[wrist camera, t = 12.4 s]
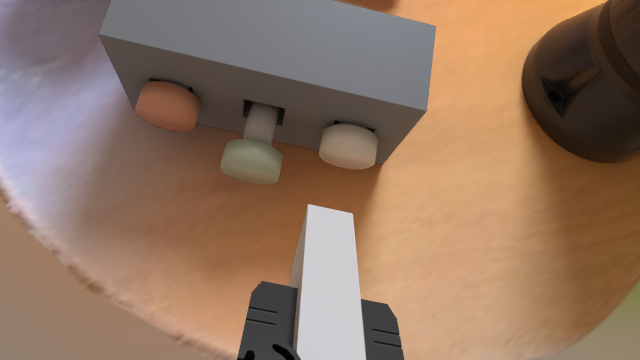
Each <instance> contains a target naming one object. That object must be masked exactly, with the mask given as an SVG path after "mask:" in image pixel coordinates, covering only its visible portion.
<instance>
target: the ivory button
mask: <svg viewBox="0 0 640 360" xmlns="http://www.w3.org/2000/svg"><path fill="white" fill-rule="evenodd" d="M377 145H378V138H377V136H376V135H375V134H374V133H373V132H371V131H369V130H367V129H366V127H364V126H359V125H355V124H350V123H346V122H342V121H339V123H338V124H337V125H331V126H329V127H327V128H325V129H324V130H323V133H322V139H321V144H320V149H319V156H320V158H321V159H322V160H323V161H325V162H327V163H329V164H331V165H334V166H337V167H341V168H346V169H365V168H369V167H371V166H373V165H374V164H375V159H376V152H377Z"/></svg>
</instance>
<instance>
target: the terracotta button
mask: <svg viewBox="0 0 640 360" xmlns="http://www.w3.org/2000/svg"><path fill="white" fill-rule="evenodd" d="M190 88H191V87H189V86H184V85H180V84H175V83H171V82H167V81H162V80H161V82H160V81H151V82H147V83H145V84H144V85H143V87H142V90H141V93H140V96H139V99H138V102H137V105H136V108H135V111H136V113H137V114H138V115H139V116H140V117H141V118H142V119H144V120H145V121H147V122H149V123H151V124H153V125H155V126H158V127H161V128H164V129H168V130H172V131H190V130H192V129H194V127H195V124H196V120H197V117H198V113H199V110H200V106H201V103H200V100H199V99H198V98H197V97H196V96H195V95H194V94H193V93H191V92H190Z"/></svg>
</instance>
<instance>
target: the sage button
mask: <svg viewBox="0 0 640 360" xmlns="http://www.w3.org/2000/svg"><path fill="white" fill-rule="evenodd" d="M278 112H279V107H276V106H272V105H267V104H263V103H259V102H254V101H252V102H251V106H250V110H249V115H248V119H247V123H246V127H245V131H244V135H243V139H234V140H230V141H228V142H227V143H226V145H225V149H224V153H223V157H222V160H221V164H220V169H221V171H222V172H223V173H225V174H226V175H228V176H230V177H232V178H234V179H237V180H240V181H243V182H247V183H252V184H259V185H270V184H275V183H277V182H278V180H279V175H280V171H281V166H282V161H283V155H282V153H281V152H280V151H279V150H277V149H276V148H274V147H272V146H271V143H272V139H273V134H274V130H275V126H276V121H277V117H278Z"/></svg>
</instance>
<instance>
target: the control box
mask: <svg viewBox="0 0 640 360" xmlns="http://www.w3.org/2000/svg"><path fill="white" fill-rule="evenodd" d="M435 31H436V26H434V25H430V24H426V23H422V22H418V21H414V20H410V19H406V18H402V17H398V16H394V15H390V14H386V13H382V12H378V11H374V10H370V9H366V8H362V7H358V6H354V5H350V4H346V3H342V2H338V1H334V0H111V2H110V5H109V7H108V10H107V13H106V15H105V18H104V20H103V23H102V25H101V28H100V31H99V33H98V34H99V37H100V39H101V41H102V43H103V45H104V47H105V49H106V51H107V54H108V56H109V58H110V60H111V62H112V64H113V66H114V69H115V71H116V73H117V75H118V77H119V79H120V81H121V83H122V86H123V88H124V90H125V92H126V94H127V96H128V98H129V101H130V103H131V105H132V107H133V109H134V110H135V108H136V105H137V102H138V99H139V96H140V93H141V90H142V87H143V85H144V84H145V83H147V82H151V81H160V82H161V80H162V81H167V82H171V83H175V84H180V85H184V86H189V87H191V88H190V92H191V93H193V94H194V95H195V96H196V97H197V98H198V99H199V100H200V103H201V106H200V110H199V113H198V117H197V120H196V124H199V125H204V126H208V127H213V128H217V129H222V130H226V131H231V132H235V133H240V134H244V131H245V127H246V123H247V119H248V115H249V110H250V106H251V102H252V101H254V102H259V103H263V104H267V105H272V106H276V107H279V112H278V117H277V121H276V126H275V130H274V134H273V139H272V141H276V142H281V143H285V144H290V145H294V146H299V147H303V148H308V149H312V150H317V151H319V149H320V144H321V139H322V133H323V130H324V129H325V128H327V127H329V126H331V125H337V124H338V123H339V121H342V122H346V123H350V124H355V125H359V126H364V127H366V129H367V130H369V131H371V132H373V133H374V134H375V135H376V136H377V138H378V145H377V152H376V159H375V164H380V165H383V164H384V162H385V161H386V160H387V159H388V157H389V156H390V155H391V154H392V153H393V151H394V150H395V149H396V148H397V146H398V145H399V144H400V143H401V142H402V140H403V139H404V138H405V137H406V136H407V134H408V133H409V132H410V131H411V129H412V128H413V127H414V126H415V125H416V123H417V122H418V121H419V120H420V118H421V117H422V116H423V115H424V114H425V112H426V111H427V104H428V95H429V86H430V77H431V68H432V58H433V49H434V40H435Z"/></svg>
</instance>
